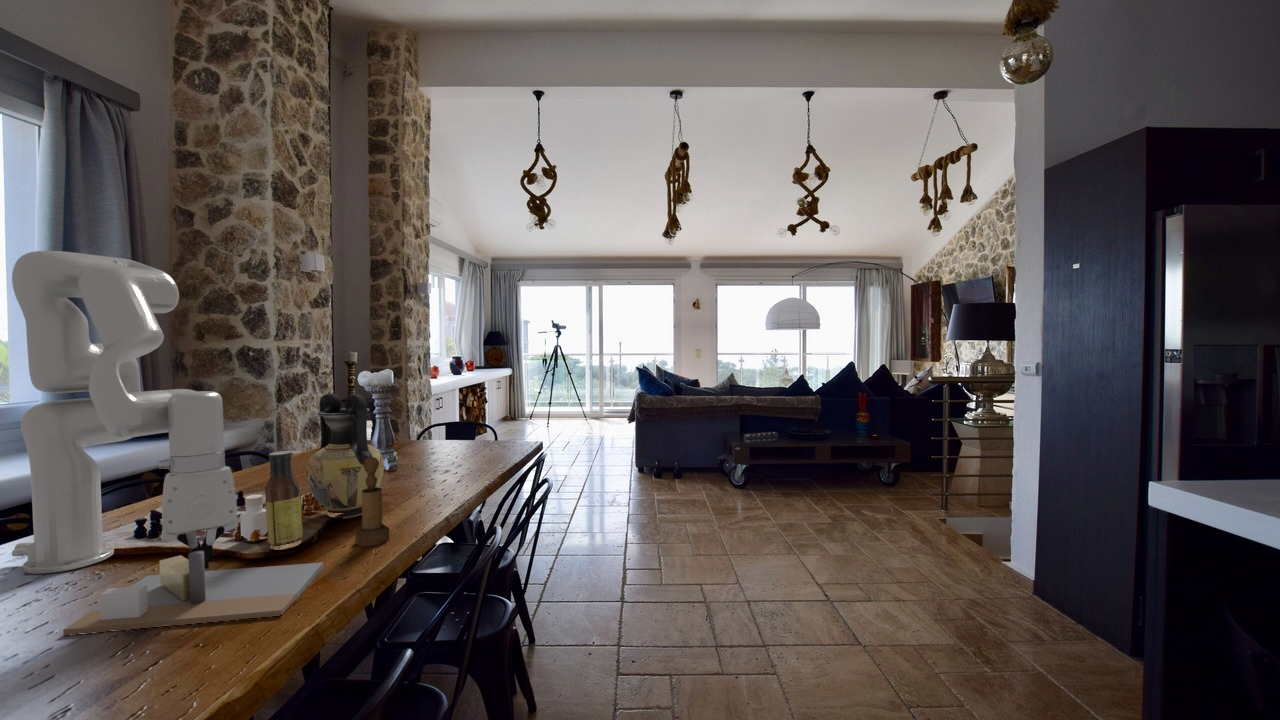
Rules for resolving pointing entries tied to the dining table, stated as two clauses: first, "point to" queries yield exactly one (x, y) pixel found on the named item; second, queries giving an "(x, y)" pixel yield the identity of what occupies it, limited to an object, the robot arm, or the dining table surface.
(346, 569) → the dining table surface
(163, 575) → the bar
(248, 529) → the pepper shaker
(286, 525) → the sauce bottle
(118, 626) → the plate
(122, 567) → the dining table surface
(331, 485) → the amphora
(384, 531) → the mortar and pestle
